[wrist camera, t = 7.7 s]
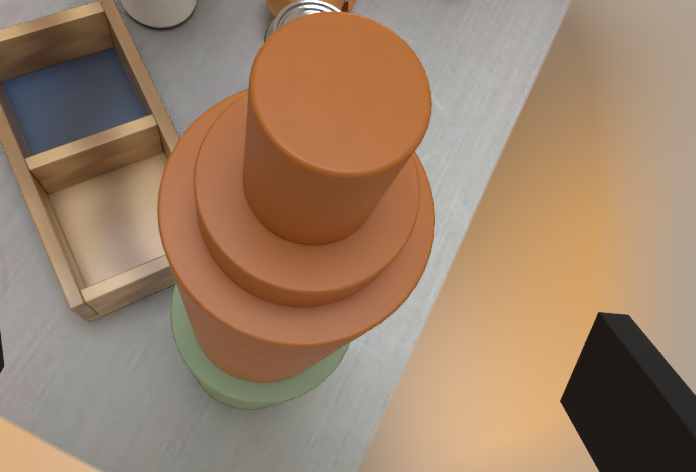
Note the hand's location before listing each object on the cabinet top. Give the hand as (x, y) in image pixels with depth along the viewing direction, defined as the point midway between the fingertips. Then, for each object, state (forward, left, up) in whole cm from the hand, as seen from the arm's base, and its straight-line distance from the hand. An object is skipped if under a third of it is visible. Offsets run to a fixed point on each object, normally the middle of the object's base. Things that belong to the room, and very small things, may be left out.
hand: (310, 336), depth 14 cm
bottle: (+1, +2, -12) cm, 12 cm away
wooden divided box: (-3, +17, -26) cm, 31 cm away
